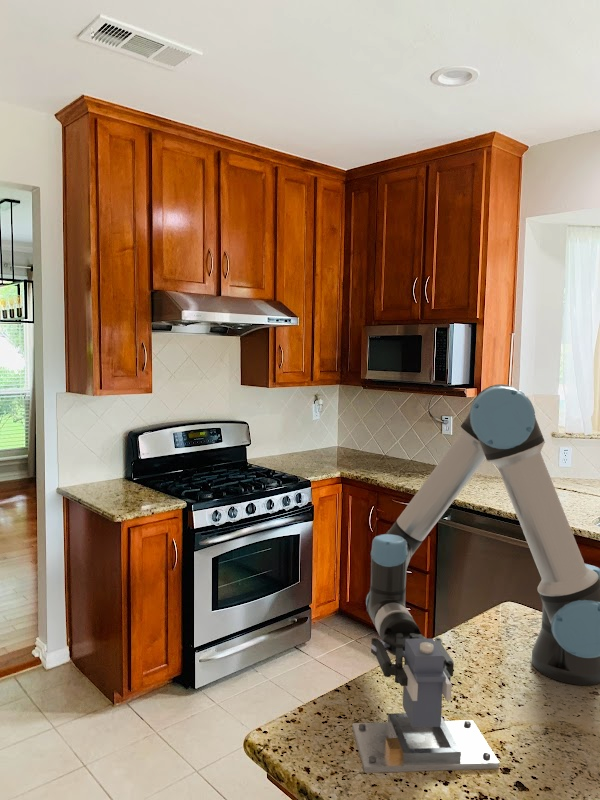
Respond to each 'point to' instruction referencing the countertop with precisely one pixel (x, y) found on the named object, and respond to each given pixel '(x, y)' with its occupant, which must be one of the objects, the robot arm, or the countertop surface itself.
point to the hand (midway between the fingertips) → (432, 692)
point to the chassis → (422, 746)
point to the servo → (424, 682)
